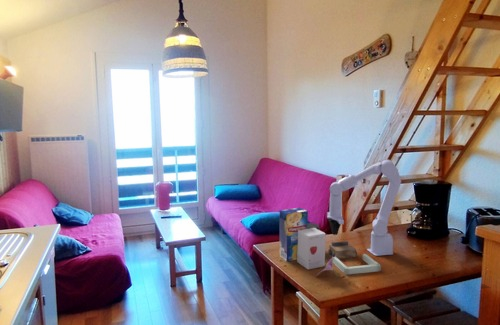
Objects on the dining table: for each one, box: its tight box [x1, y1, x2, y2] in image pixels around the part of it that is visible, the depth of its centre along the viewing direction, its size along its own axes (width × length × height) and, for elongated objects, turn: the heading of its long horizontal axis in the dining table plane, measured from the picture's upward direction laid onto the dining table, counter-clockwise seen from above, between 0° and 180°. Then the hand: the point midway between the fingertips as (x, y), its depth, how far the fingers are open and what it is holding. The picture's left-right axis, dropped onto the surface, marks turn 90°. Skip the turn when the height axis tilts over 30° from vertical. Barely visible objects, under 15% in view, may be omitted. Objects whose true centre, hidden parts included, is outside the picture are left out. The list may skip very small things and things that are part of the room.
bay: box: [332, 253, 382, 276], centre depth 158 cm, size 16×12×2 cm
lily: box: [317, 257, 339, 279], centre depth 149 cm, size 12×12×10 cm
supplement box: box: [296, 228, 327, 270], centre depth 160 cm, size 9×9×15 cm
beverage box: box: [278, 207, 309, 263], centre depth 168 cm, size 7×11×22 cm, turn 115°
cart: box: [327, 240, 358, 260], centre depth 171 cm, size 11×7×6 cm, turn 101°
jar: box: [308, 222, 320, 230], centre depth 177 cm, size 9×8×12 cm
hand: (334, 234), depth 178 cm, fingers closed
